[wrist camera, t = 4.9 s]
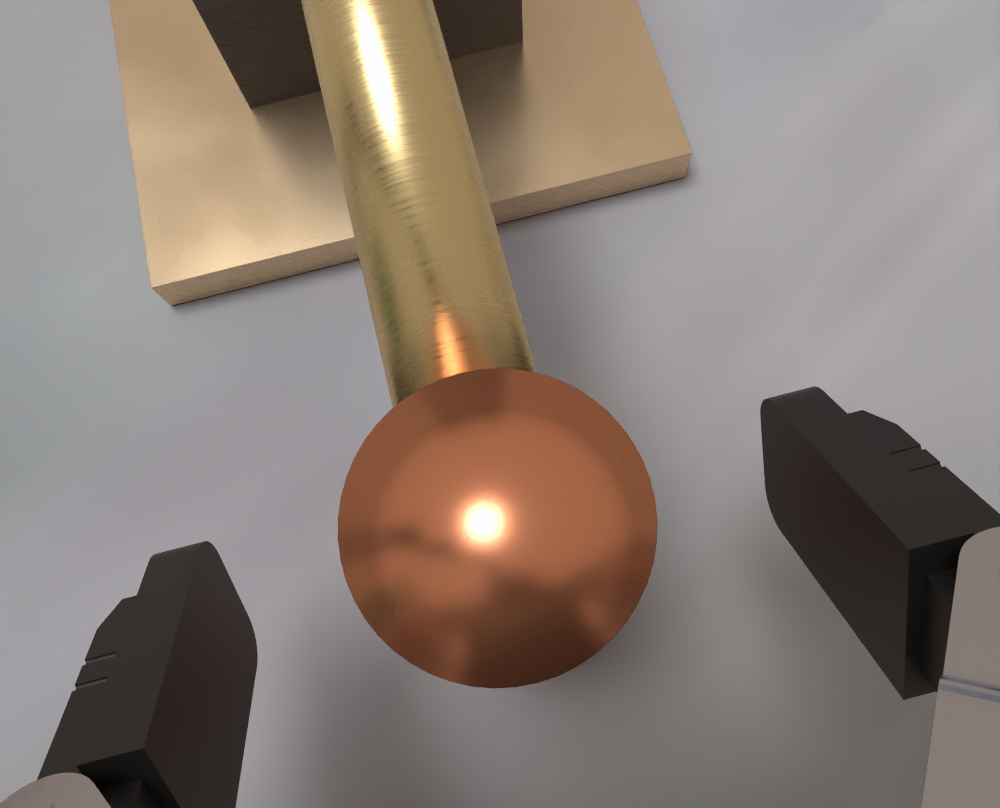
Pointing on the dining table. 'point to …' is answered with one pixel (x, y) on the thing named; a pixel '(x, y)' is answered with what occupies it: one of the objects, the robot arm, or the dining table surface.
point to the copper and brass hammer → (464, 393)
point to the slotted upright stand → (307, 137)
